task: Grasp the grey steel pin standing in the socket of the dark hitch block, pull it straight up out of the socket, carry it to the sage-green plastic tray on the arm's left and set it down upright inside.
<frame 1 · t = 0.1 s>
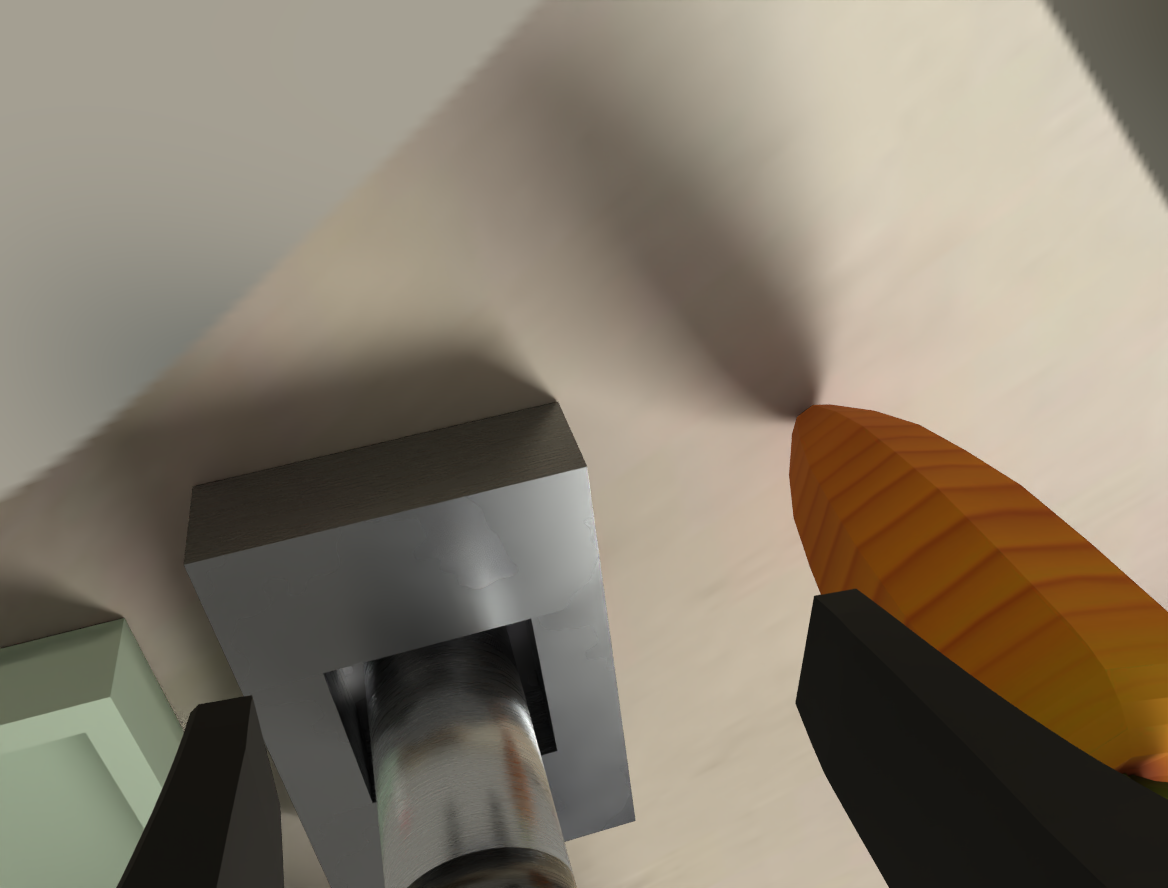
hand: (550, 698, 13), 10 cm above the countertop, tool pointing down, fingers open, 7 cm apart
tray: (6, 866, 26), on the countertop
pin: (436, 650, 25), resting on hitch block
hitch block: (434, 636, 25), on the countertop
carrot: (803, 410, 25), on the countertop
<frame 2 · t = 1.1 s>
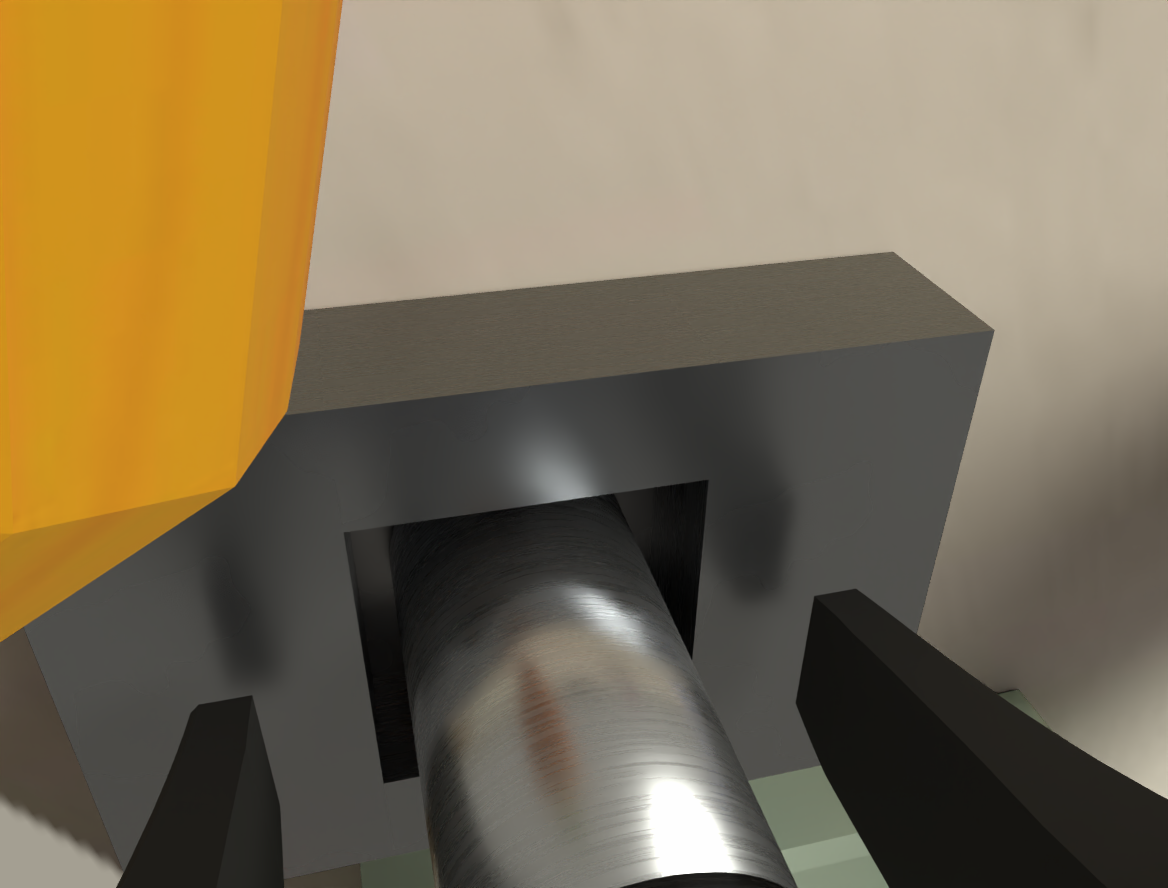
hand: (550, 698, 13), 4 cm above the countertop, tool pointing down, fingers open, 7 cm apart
pin: (508, 545, 15), resting on hitch block
hitch block: (502, 525, 16), on the countertop
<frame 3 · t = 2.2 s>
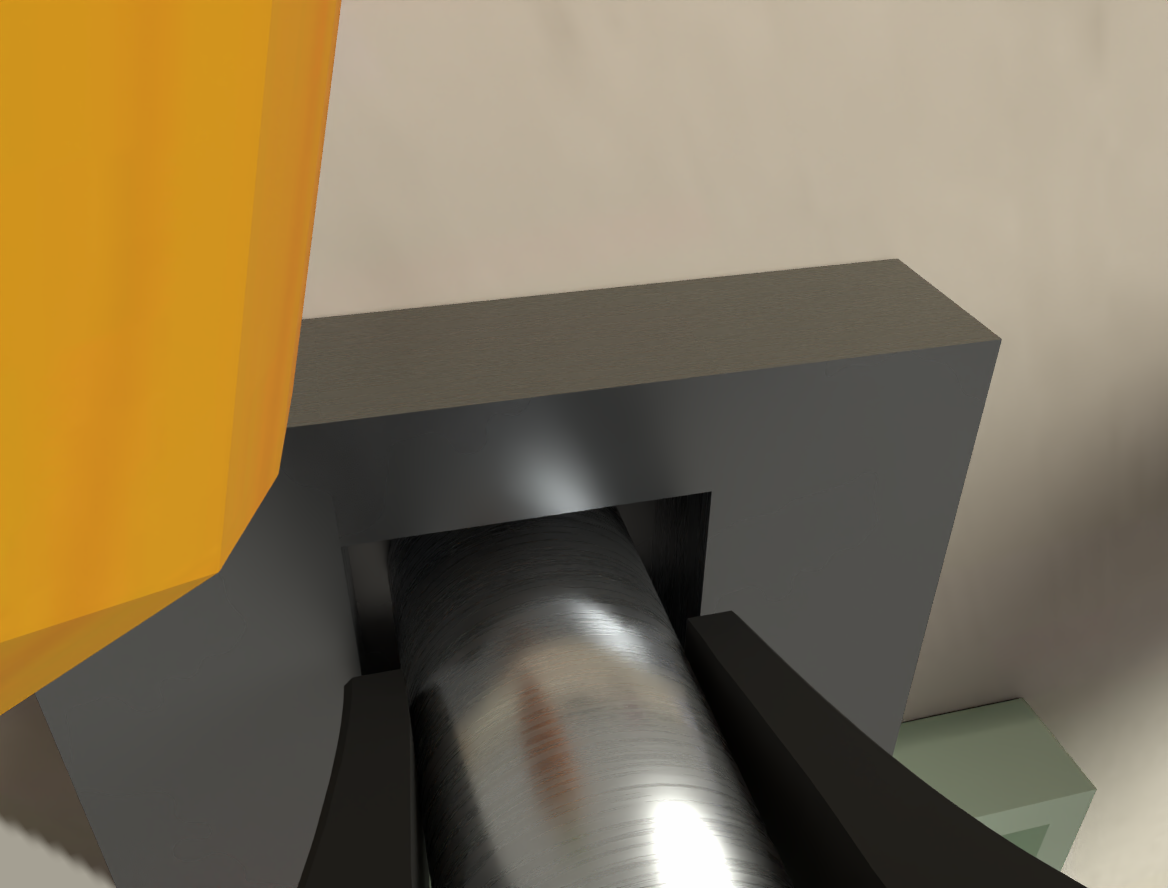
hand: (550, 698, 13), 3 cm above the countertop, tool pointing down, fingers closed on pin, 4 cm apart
pin: (508, 556, 15), resting on hitch block, touching gripper
hitch block: (502, 536, 16), on the countertop
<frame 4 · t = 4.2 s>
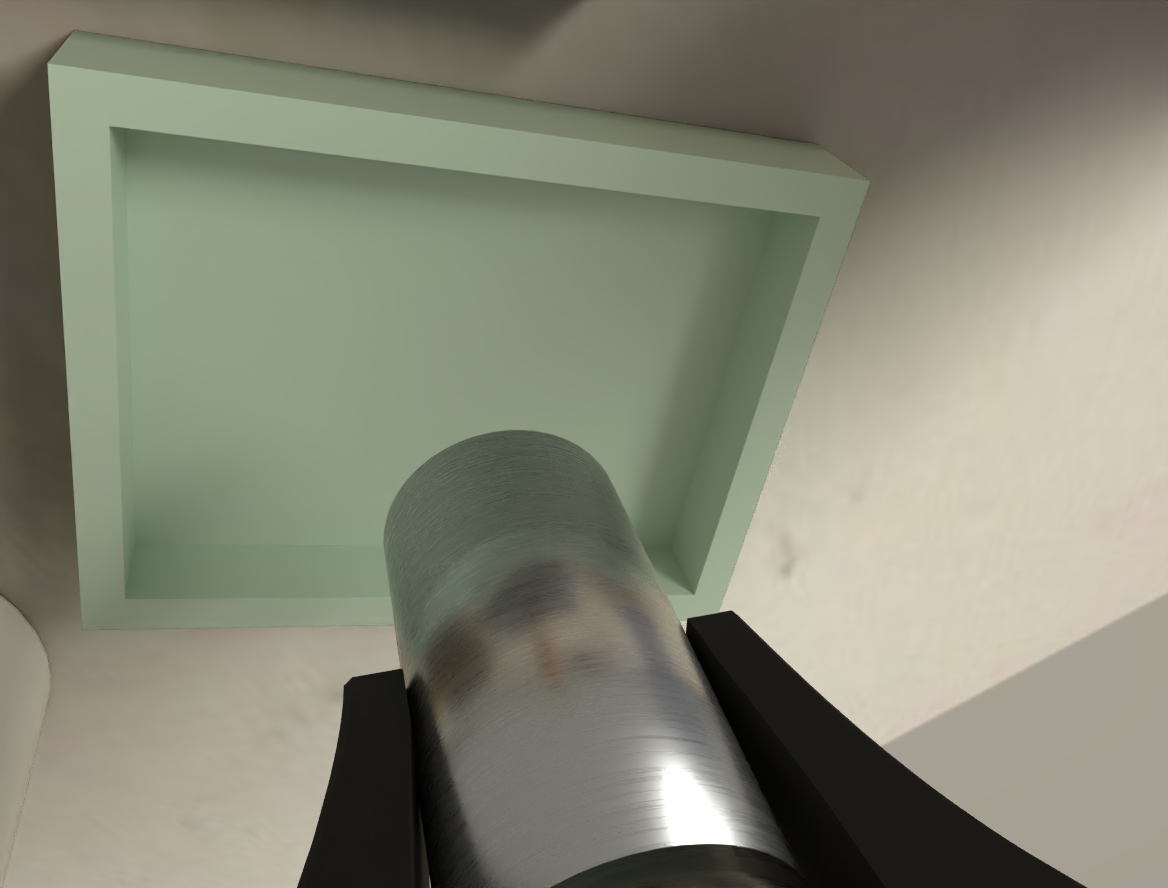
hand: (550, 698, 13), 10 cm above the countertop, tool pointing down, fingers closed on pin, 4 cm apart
tray: (448, 354, 22), on the countertop
pin: (504, 532, 15), point 7 cm above the countertop, touching gripper
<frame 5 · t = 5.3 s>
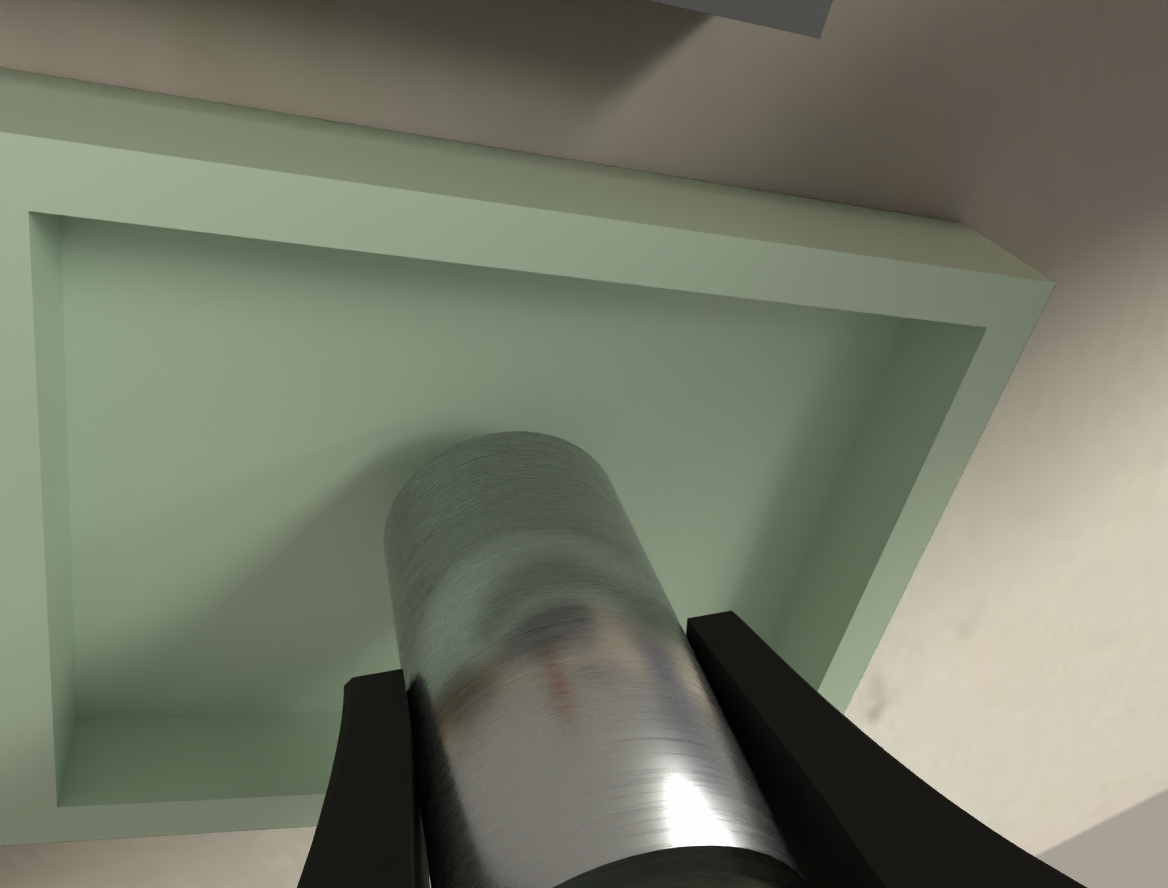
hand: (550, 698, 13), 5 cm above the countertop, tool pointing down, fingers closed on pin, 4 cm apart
tray: (486, 480, 17), on the countertop
pin: (504, 533, 15), point 2 cm above the countertop, touching gripper
when the fingers open (5 cm above the countertop, at t = 6.1 s): pin stays where it is, resting on tray.
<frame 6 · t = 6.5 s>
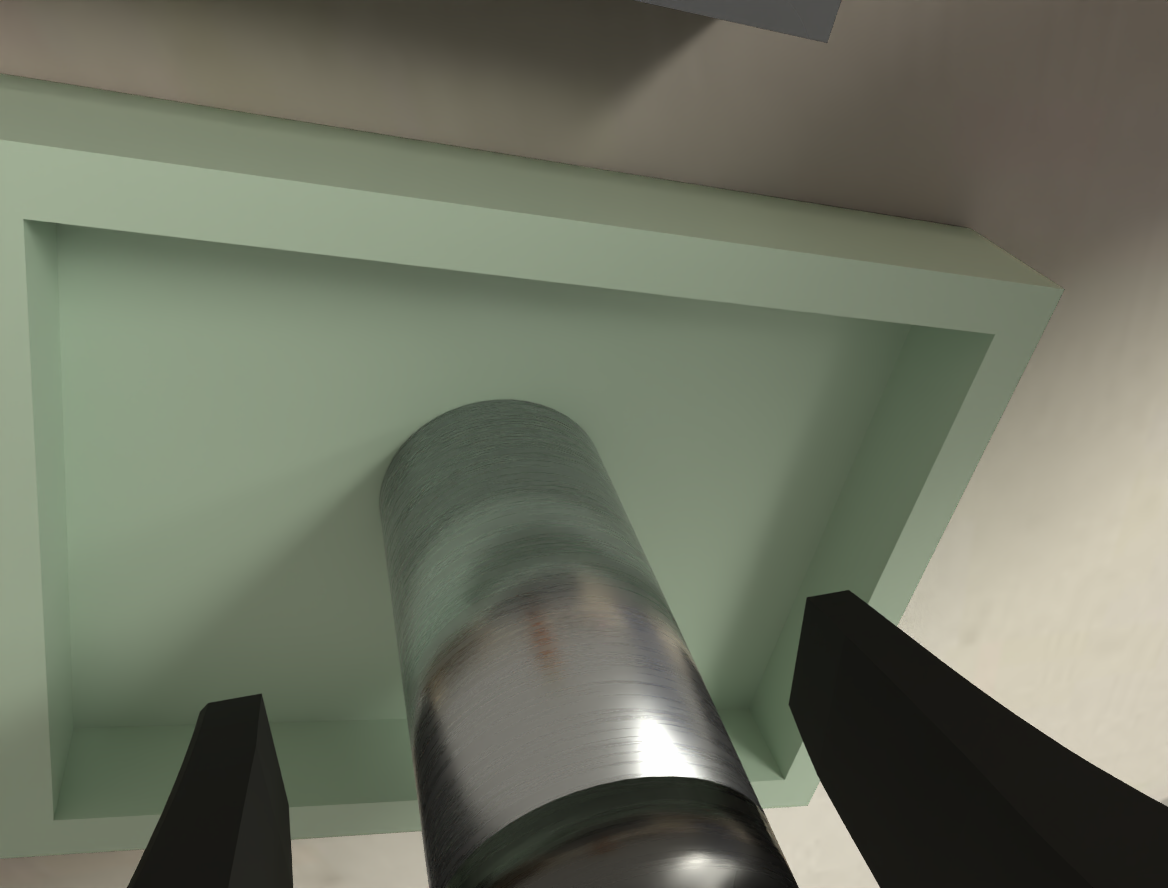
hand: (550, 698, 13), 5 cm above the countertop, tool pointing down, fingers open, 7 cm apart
tray: (488, 488, 17), on the countertop
pin: (494, 497, 16), point 1 cm above the countertop, touching tray
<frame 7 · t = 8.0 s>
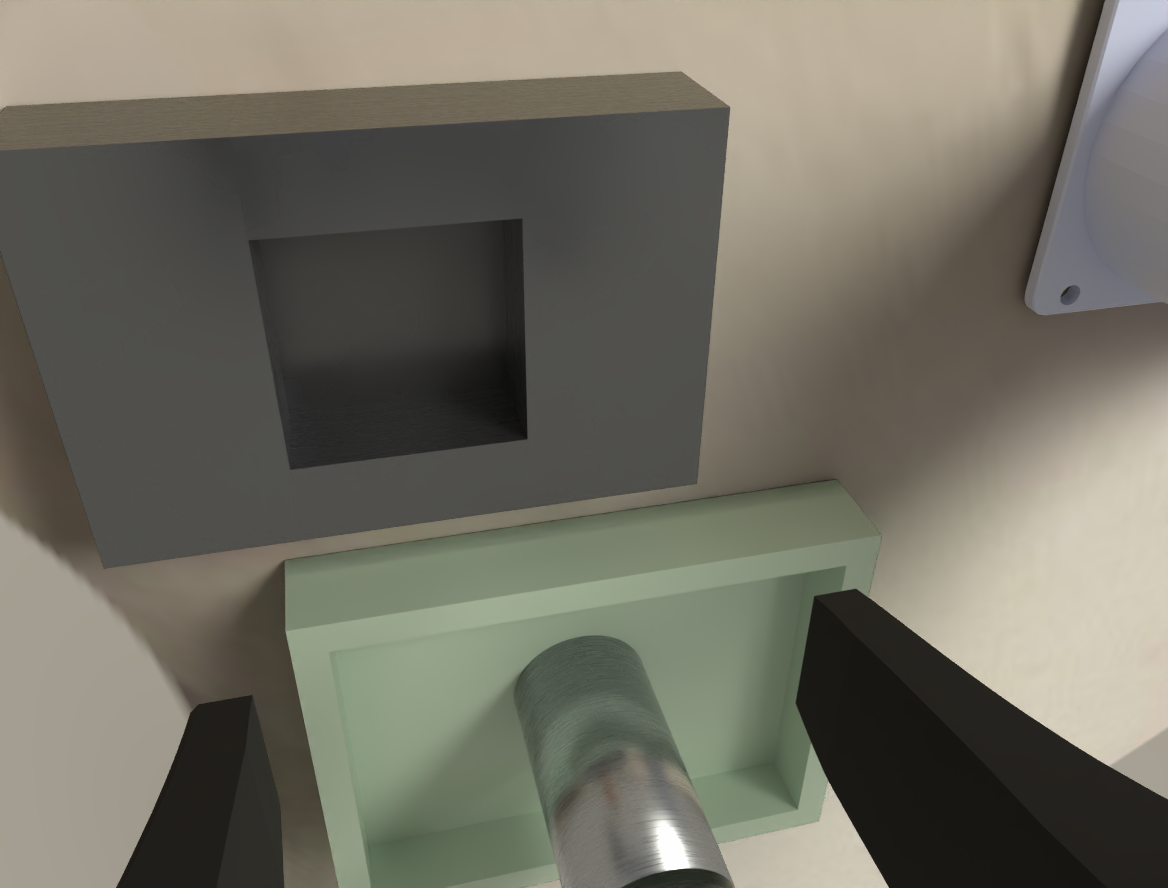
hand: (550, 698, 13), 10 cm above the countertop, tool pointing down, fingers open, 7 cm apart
tray: (576, 675, 28), on the countertop
pin: (579, 685, 27), point 1 cm above the countertop, touching tray
hitch block: (388, 290, 20), on the countertop
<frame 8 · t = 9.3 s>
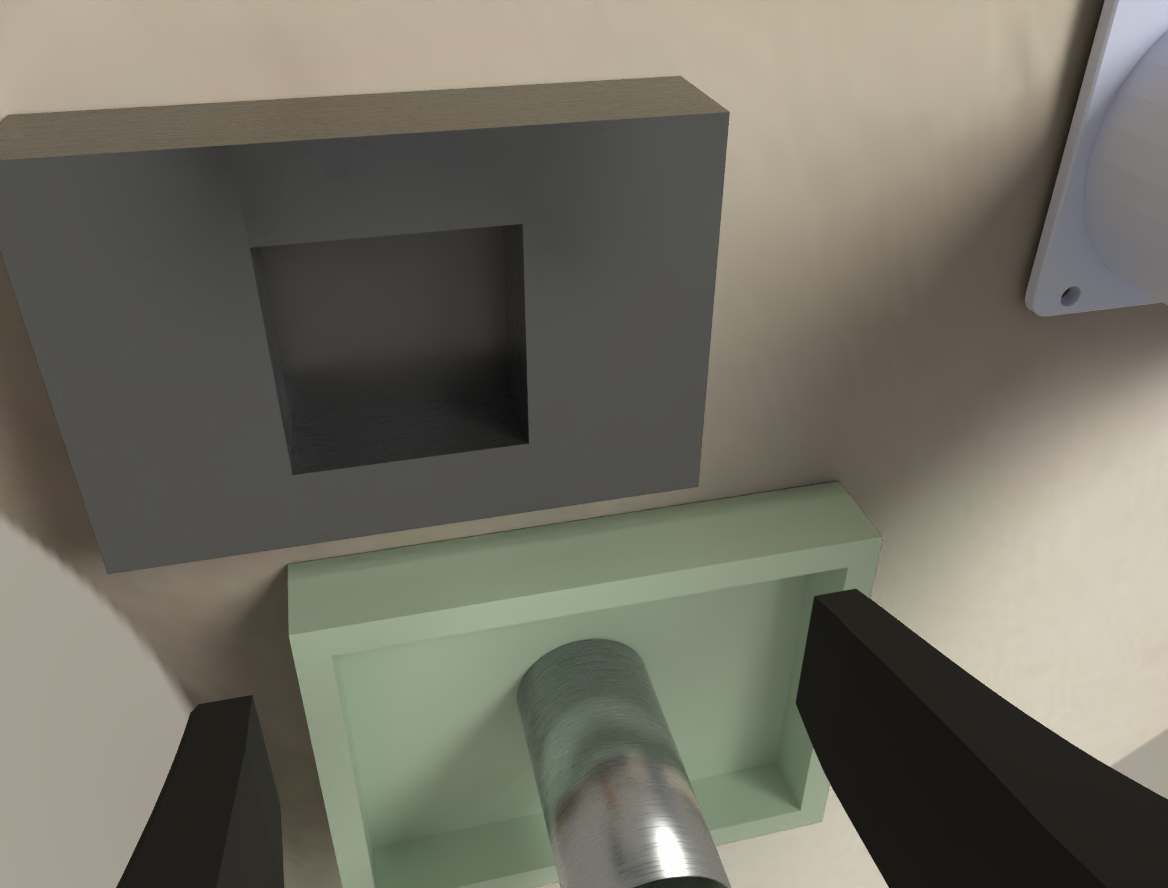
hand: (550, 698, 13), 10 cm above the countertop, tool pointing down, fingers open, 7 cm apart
tray: (578, 677, 28), on the countertop
pin: (582, 688, 27), point 1 cm above the countertop, touching tray
hitch block: (389, 295, 21), on the countertop
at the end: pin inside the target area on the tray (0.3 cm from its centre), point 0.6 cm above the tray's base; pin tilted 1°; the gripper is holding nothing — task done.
